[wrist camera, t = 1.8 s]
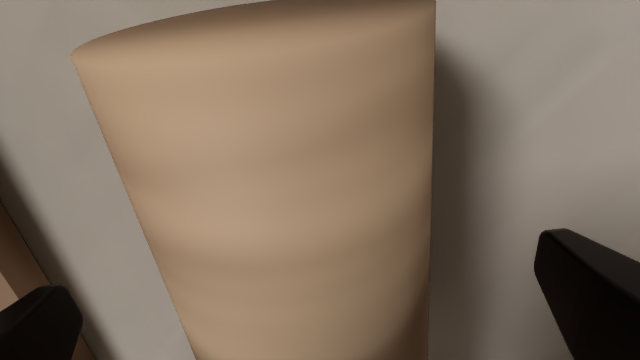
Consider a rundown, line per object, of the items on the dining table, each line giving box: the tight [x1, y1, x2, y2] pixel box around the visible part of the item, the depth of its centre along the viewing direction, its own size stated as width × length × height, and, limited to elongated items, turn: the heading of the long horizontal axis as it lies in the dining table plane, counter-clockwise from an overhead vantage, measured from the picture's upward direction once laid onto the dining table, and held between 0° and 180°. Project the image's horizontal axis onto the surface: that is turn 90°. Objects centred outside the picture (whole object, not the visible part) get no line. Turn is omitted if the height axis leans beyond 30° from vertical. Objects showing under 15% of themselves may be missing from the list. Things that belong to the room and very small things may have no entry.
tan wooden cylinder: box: [71, 0, 436, 360], centre depth 8 cm, size 9×5×5 cm, turn 7°
